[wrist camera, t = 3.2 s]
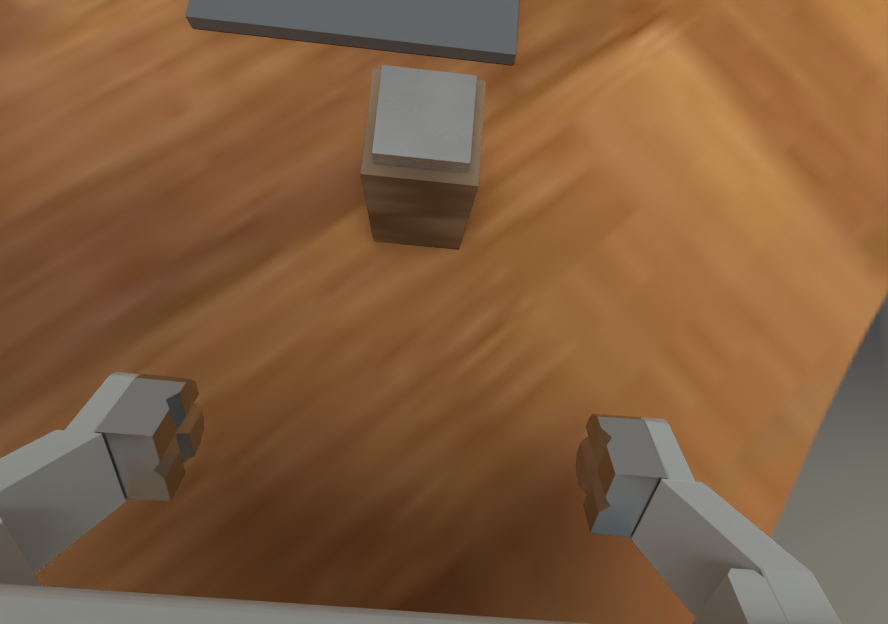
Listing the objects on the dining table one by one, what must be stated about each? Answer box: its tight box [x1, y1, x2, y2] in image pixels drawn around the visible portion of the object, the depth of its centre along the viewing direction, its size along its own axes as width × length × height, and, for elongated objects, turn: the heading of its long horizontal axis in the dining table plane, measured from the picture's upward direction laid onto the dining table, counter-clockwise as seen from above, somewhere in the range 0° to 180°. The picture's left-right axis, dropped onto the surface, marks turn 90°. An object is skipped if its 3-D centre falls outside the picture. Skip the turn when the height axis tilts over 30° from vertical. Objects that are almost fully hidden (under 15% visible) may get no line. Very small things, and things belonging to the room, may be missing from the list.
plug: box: [361, 65, 486, 250], centre depth 22 cm, size 4×4×8 cm
